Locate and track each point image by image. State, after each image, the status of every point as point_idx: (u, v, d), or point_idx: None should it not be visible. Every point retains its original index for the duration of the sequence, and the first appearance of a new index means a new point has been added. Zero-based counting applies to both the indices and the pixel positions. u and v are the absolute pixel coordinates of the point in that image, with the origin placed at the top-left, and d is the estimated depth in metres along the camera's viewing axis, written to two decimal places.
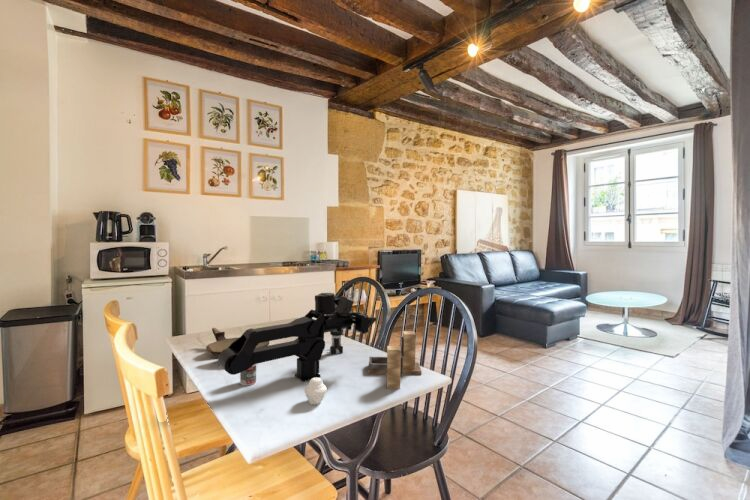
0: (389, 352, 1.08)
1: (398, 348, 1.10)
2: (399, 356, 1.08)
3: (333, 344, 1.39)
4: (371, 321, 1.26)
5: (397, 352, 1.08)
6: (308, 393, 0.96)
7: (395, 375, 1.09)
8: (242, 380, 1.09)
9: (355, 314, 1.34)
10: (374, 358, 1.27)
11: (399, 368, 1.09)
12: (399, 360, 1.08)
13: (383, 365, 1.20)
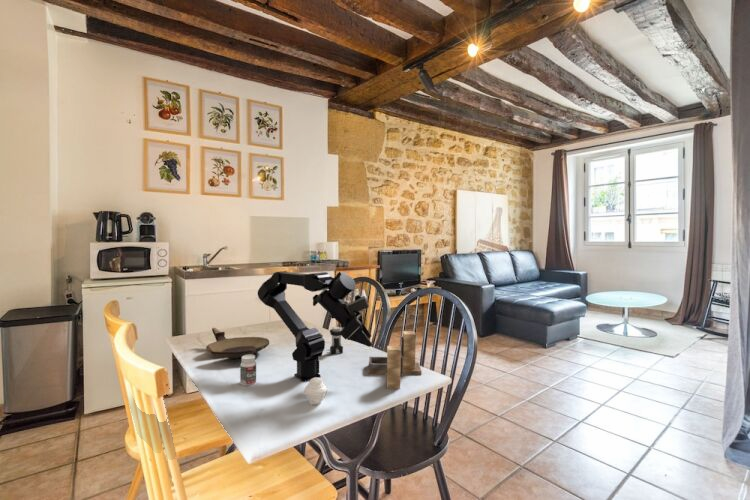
0: (389, 352, 1.08)
1: (398, 348, 1.10)
2: (399, 356, 1.09)
3: (333, 344, 1.39)
4: (363, 340, 1.05)
5: (397, 352, 1.08)
6: (308, 393, 0.96)
7: (395, 375, 1.09)
8: (242, 380, 1.09)
9: (365, 331, 1.15)
10: (374, 358, 1.27)
11: (399, 368, 1.09)
12: (399, 360, 1.09)
13: (383, 365, 1.20)
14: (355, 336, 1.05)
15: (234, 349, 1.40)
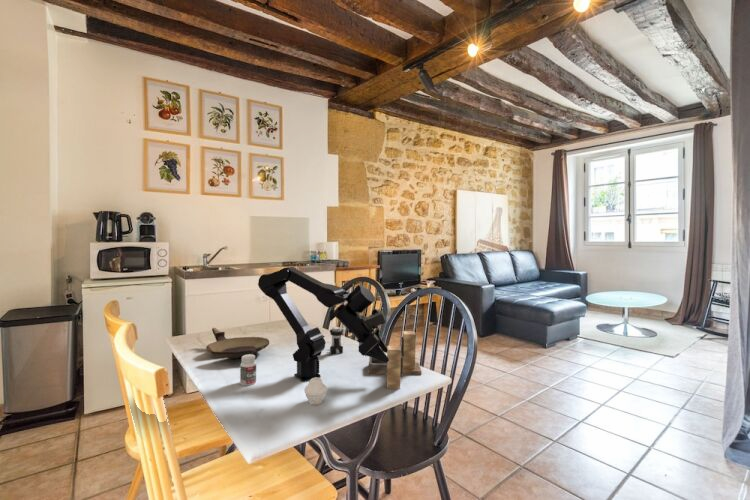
0: (389, 352, 1.08)
1: (398, 348, 1.10)
2: (399, 356, 1.09)
3: (333, 344, 1.39)
4: (380, 356, 1.05)
5: (397, 352, 1.08)
6: (308, 393, 0.96)
7: (395, 375, 1.09)
8: (242, 380, 1.09)
9: (382, 345, 1.15)
10: (374, 358, 1.27)
11: (399, 368, 1.09)
12: (399, 360, 1.09)
13: (383, 365, 1.20)
14: (372, 352, 1.04)
15: (234, 349, 1.40)
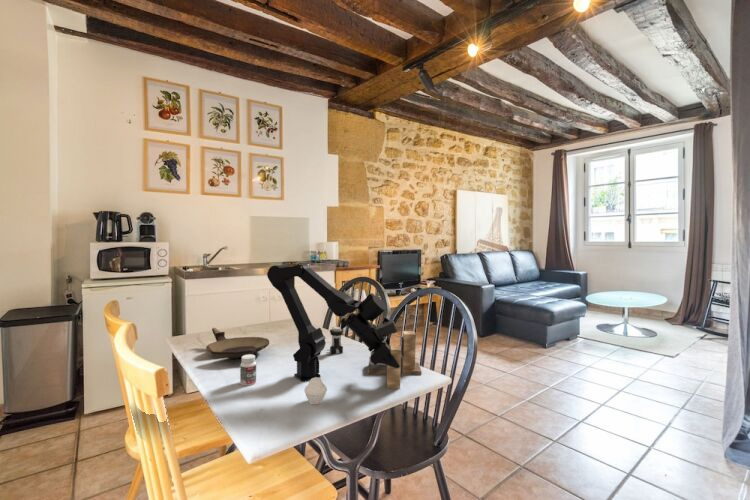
0: None
1: (398, 348, 1.10)
2: (399, 356, 1.09)
3: (333, 344, 1.39)
4: (391, 362, 1.07)
5: (397, 352, 1.08)
6: (308, 393, 0.96)
7: (395, 375, 1.09)
8: (242, 380, 1.09)
9: None
10: None
11: (399, 368, 1.09)
12: (399, 360, 1.09)
13: (383, 365, 1.20)
14: (384, 358, 1.07)
15: (234, 349, 1.40)
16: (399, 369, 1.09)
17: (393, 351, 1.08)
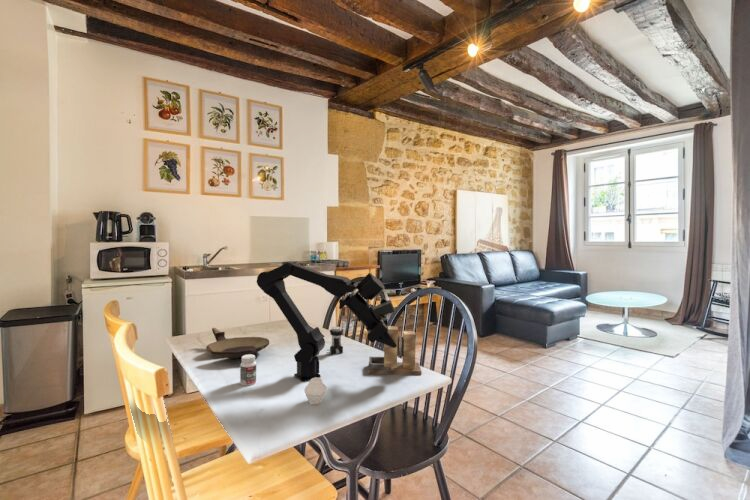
0: None
1: (395, 328, 1.12)
2: (396, 336, 1.11)
3: (333, 344, 1.39)
4: (388, 341, 1.09)
5: (394, 332, 1.10)
6: (308, 393, 0.96)
7: (392, 354, 1.11)
8: (242, 380, 1.09)
9: None
10: (374, 358, 1.27)
11: (396, 347, 1.11)
12: (396, 340, 1.11)
13: (383, 365, 1.20)
14: (381, 337, 1.09)
15: (234, 349, 1.40)
16: (396, 348, 1.11)
17: (390, 331, 1.10)
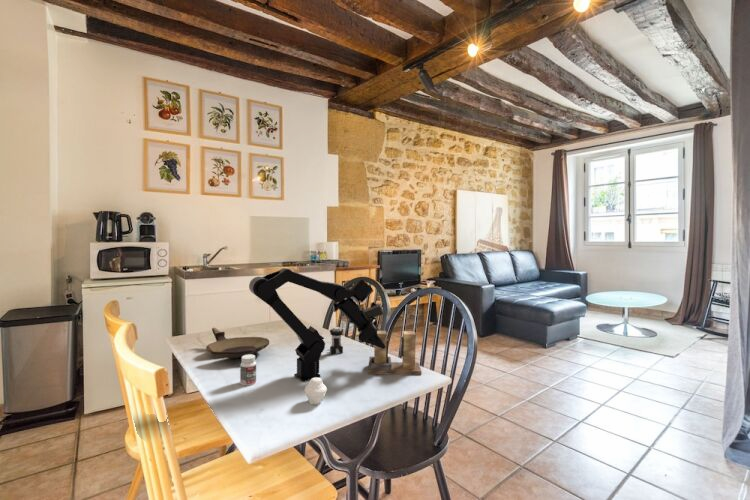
0: None
1: (384, 332, 1.23)
2: (385, 339, 1.21)
3: (333, 344, 1.39)
4: (377, 343, 1.18)
5: (383, 336, 1.21)
6: (308, 393, 0.96)
7: (381, 356, 1.22)
8: (242, 380, 1.09)
9: None
10: None
11: (385, 350, 1.22)
12: (385, 343, 1.21)
13: (383, 365, 1.20)
14: (371, 339, 1.18)
15: (234, 349, 1.40)
16: (385, 351, 1.22)
17: (379, 335, 1.21)
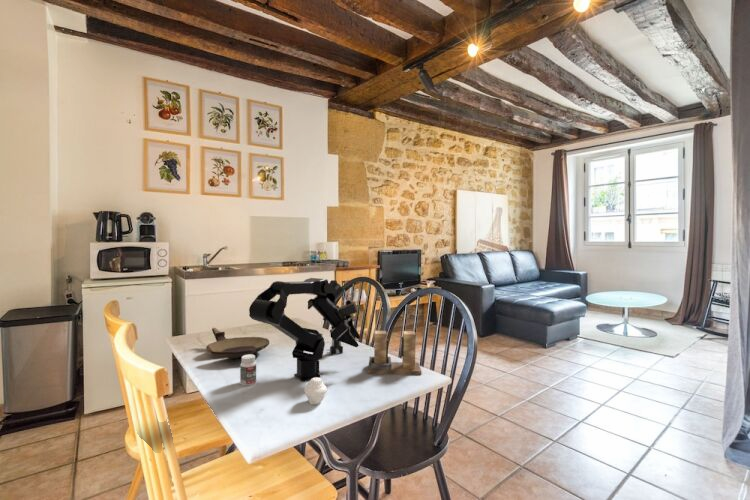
0: (376, 336, 1.21)
1: (384, 332, 1.23)
2: (385, 339, 1.21)
3: (333, 344, 1.39)
4: (350, 341, 1.18)
5: (383, 336, 1.21)
6: (308, 393, 0.96)
7: (381, 356, 1.22)
8: (242, 380, 1.09)
9: (355, 332, 1.28)
10: None
11: (385, 350, 1.22)
12: (385, 343, 1.21)
13: (383, 365, 1.20)
14: (343, 337, 1.17)
15: (234, 349, 1.40)
16: (385, 351, 1.22)
17: (379, 335, 1.21)
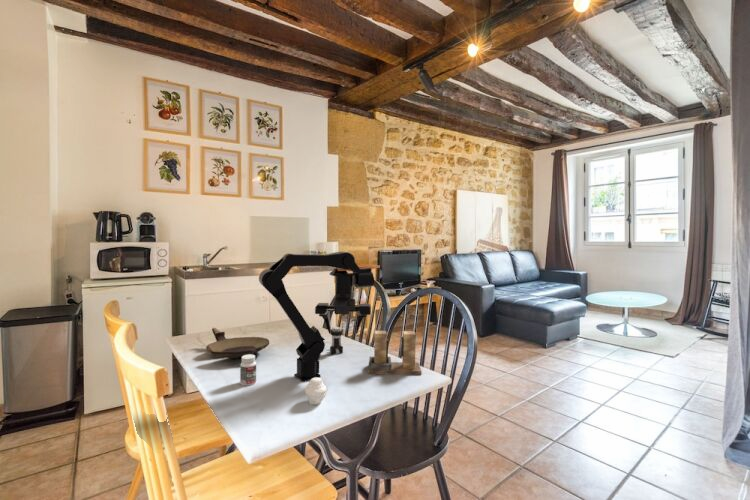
0: (376, 336, 1.21)
1: (384, 332, 1.23)
2: (385, 339, 1.21)
3: (333, 344, 1.39)
4: None
5: (383, 336, 1.21)
6: (308, 393, 0.96)
7: (381, 356, 1.22)
8: (242, 380, 1.09)
9: None
10: None
11: (385, 350, 1.22)
12: (385, 343, 1.21)
13: (383, 365, 1.20)
14: None
15: (234, 349, 1.40)
16: (385, 351, 1.22)
17: (379, 335, 1.21)
